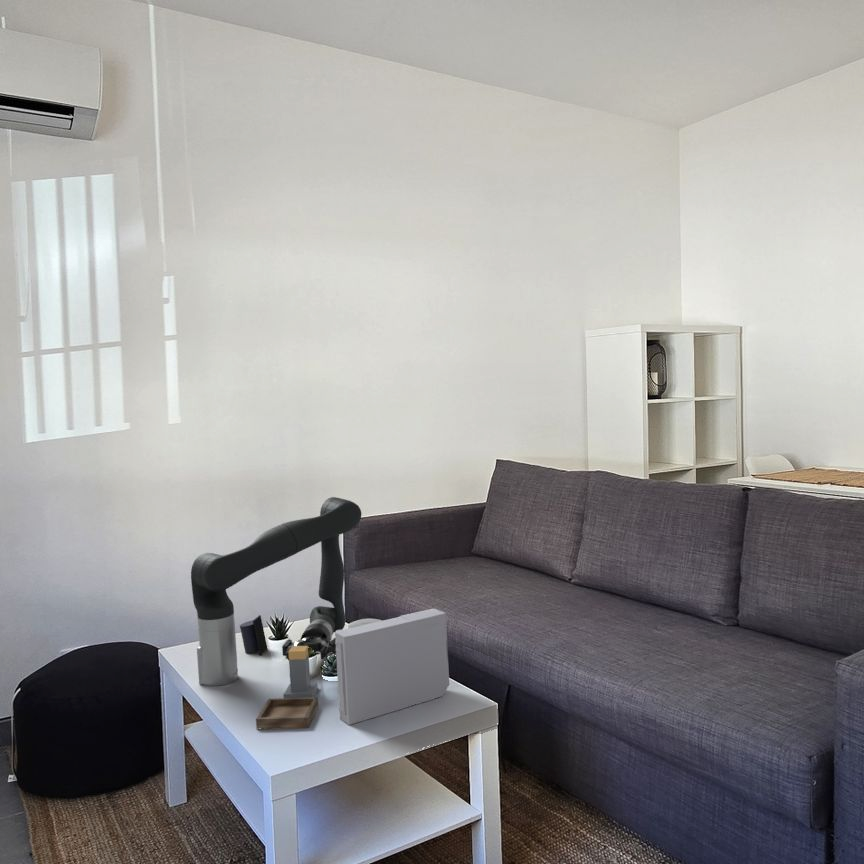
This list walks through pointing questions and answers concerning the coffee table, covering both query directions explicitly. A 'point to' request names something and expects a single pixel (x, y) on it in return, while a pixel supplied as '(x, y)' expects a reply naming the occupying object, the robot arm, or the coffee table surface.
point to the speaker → (254, 636)
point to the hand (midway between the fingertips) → (305, 656)
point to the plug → (300, 674)
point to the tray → (287, 713)
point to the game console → (391, 664)
